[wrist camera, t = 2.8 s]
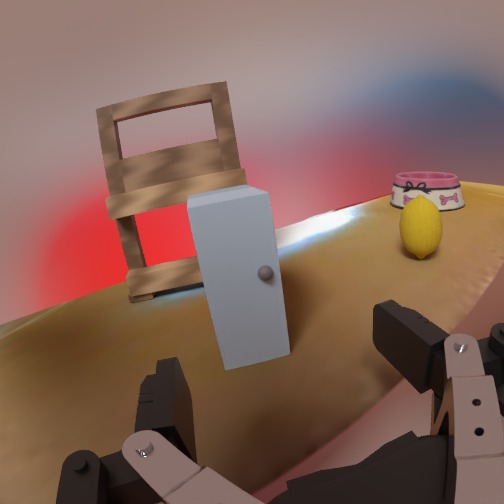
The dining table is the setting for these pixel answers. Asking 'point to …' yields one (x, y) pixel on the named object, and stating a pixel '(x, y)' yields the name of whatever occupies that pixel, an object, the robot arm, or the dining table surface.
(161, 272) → the rack
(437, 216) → the lemon
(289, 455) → the dining table surface
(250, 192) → the cabinet
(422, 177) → the dog bowl
